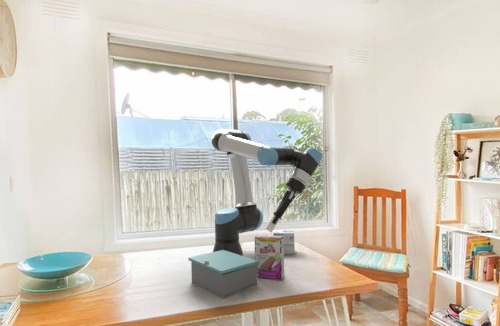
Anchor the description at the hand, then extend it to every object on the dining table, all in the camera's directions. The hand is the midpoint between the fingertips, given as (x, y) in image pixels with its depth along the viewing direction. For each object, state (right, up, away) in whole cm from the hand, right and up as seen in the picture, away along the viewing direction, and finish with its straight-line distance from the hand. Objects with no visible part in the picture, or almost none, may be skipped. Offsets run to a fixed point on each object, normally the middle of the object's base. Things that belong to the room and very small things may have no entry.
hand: (268, 230), depth 120 cm
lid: (-18, -10, -7) cm, 22 cm away
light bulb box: (+10, -19, +33) cm, 39 cm away
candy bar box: (0, -19, 0) cm, 19 cm away
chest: (-17, -19, -6) cm, 26 cm away
